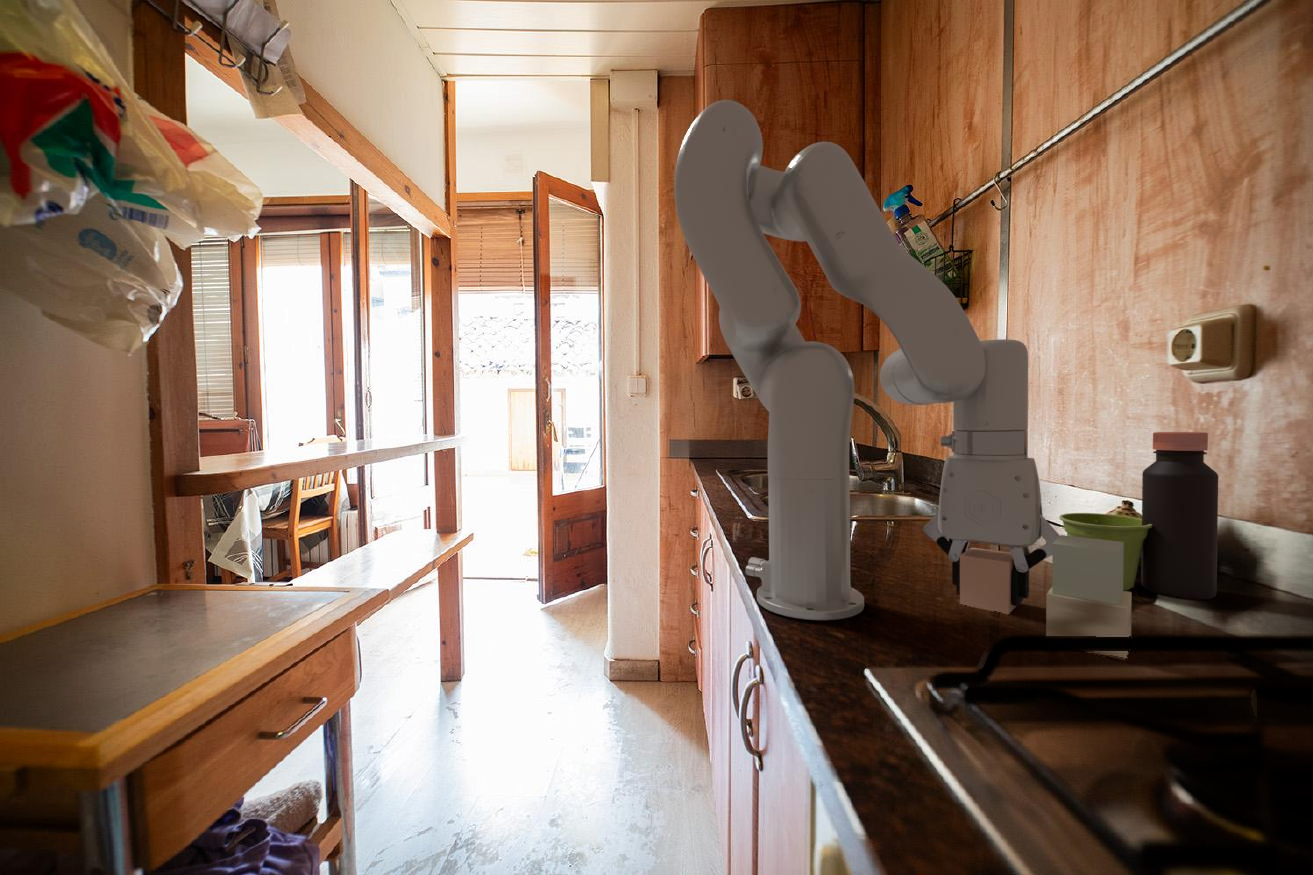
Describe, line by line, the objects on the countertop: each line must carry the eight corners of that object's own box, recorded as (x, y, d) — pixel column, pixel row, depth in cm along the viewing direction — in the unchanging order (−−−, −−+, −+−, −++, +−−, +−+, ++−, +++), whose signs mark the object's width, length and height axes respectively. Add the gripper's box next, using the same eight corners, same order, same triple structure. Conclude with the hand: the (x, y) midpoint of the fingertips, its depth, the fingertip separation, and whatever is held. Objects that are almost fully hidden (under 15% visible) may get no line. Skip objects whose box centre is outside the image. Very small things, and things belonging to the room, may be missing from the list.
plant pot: (1171, 597, 66) (1172, 526, 65) (1083, 594, 67) (1083, 525, 67) (1121, 575, 75) (1122, 513, 74) (1045, 572, 77) (1045, 512, 76)
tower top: (1052, 593, 53) (1052, 543, 53) (1060, 582, 57) (1060, 535, 57) (1118, 605, 50) (1119, 551, 50) (1123, 592, 53) (1123, 541, 53)
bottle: (1183, 584, 71) (1185, 431, 70) (1233, 601, 64) (1236, 432, 63) (1127, 583, 71) (1129, 432, 71) (1171, 600, 65) (1173, 433, 64)
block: (959, 604, 65) (959, 555, 64) (971, 594, 68) (971, 547, 68) (1008, 614, 61) (1008, 562, 61) (1018, 603, 65) (1018, 553, 64)
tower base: (1046, 644, 53) (1046, 594, 53) (1056, 626, 58) (1056, 580, 57) (1126, 662, 49) (1127, 608, 49) (1130, 642, 53) (1131, 592, 53)
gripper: (903, 446, 67) (904, 590, 68) (1074, 449, 55) (1073, 624, 56) (924, 443, 73) (925, 577, 73) (1084, 445, 61) (1083, 605, 61)
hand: (989, 595), depth 65 cm, fingers closed on block, 4 cm apart
